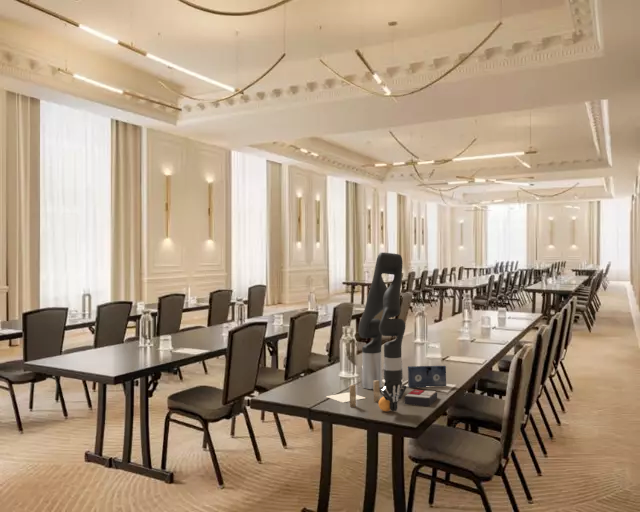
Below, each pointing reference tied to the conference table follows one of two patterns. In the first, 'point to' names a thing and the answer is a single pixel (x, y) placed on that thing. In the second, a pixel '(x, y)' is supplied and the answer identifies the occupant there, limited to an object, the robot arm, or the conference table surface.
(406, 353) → the conference table surface
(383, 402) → the ball
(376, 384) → the post
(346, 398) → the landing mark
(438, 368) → the vhs cassette tape
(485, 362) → the conference table surface
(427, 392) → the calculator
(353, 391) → the post
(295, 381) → the conference table surface
